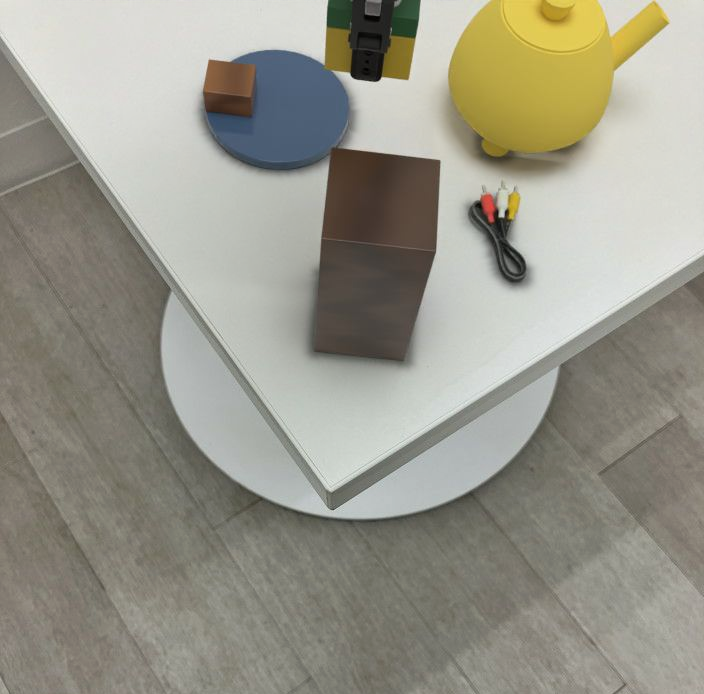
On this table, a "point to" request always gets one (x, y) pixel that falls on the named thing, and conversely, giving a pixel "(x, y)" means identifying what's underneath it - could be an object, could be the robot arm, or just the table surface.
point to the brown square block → (230, 88)
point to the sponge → (401, 38)
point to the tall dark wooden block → (375, 251)
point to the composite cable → (500, 226)
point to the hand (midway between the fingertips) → (368, 51)
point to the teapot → (541, 70)
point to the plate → (285, 113)
